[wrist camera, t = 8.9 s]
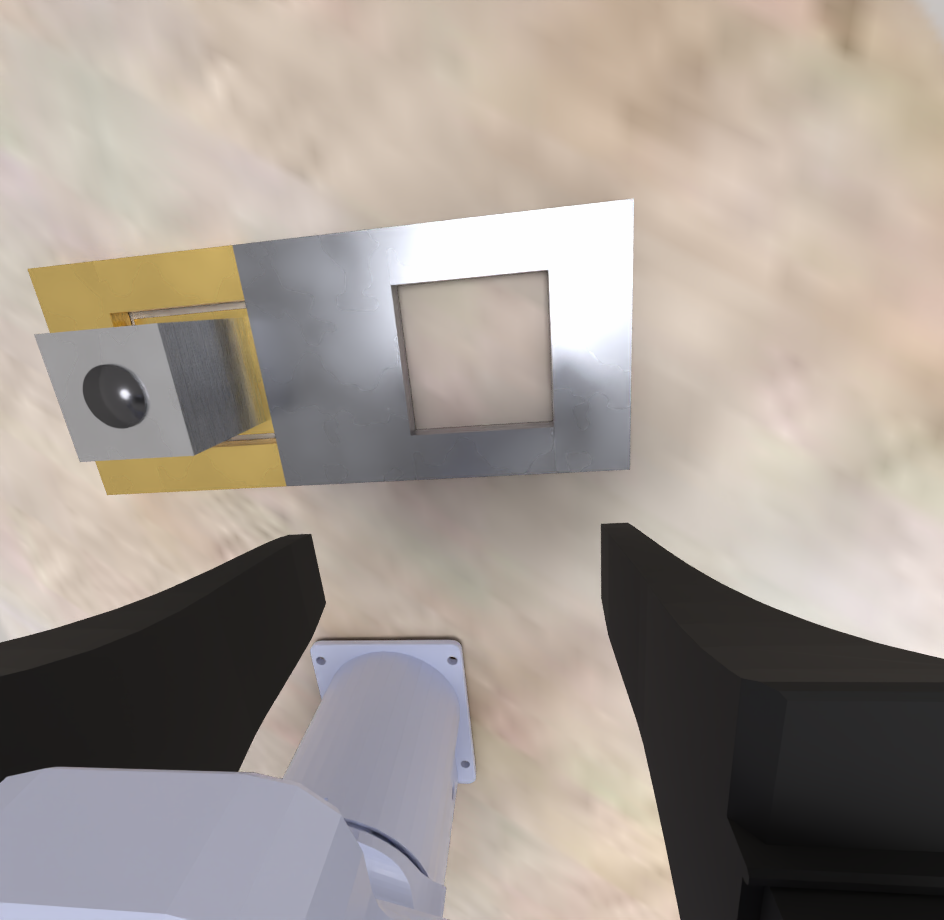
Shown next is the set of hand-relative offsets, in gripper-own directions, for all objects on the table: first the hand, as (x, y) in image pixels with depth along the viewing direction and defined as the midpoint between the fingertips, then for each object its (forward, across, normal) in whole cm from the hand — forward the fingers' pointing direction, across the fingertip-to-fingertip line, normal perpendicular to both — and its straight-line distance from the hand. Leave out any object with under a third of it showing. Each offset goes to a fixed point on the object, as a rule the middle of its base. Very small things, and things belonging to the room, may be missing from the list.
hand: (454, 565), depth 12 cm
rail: (+10, +6, -4) cm, 12 cm away
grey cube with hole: (+10, +12, -4) cm, 16 cm away
